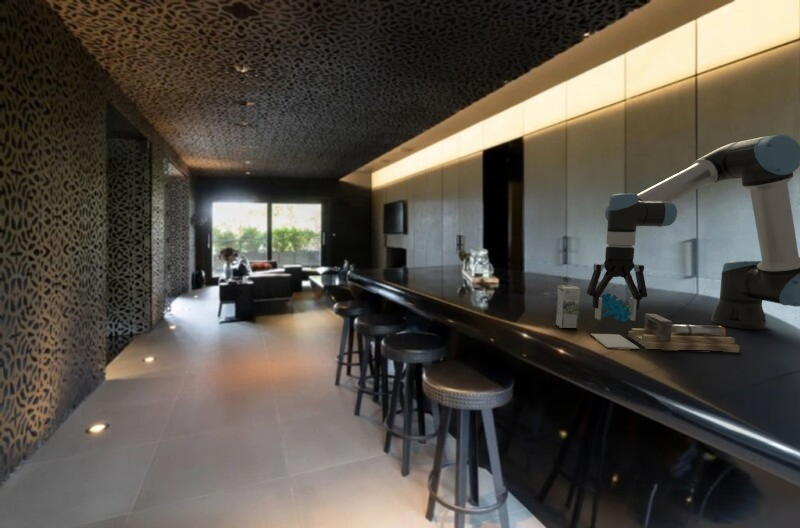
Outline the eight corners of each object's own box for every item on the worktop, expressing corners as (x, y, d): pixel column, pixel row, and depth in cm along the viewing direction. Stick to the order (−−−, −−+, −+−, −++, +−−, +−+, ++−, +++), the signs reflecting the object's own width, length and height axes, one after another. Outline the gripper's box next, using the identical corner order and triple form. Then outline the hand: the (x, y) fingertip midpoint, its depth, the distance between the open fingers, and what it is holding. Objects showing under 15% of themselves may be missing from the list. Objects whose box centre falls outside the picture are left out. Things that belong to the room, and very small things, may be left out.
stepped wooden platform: (710, 339, 126) (713, 314, 125) (738, 352, 114) (741, 324, 113) (627, 337, 128) (629, 312, 127) (647, 349, 116) (649, 322, 115)
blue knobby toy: (614, 318, 116) (598, 290, 122) (599, 329, 120) (585, 301, 126) (640, 320, 120) (623, 293, 126) (625, 330, 124) (610, 303, 131)
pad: (619, 336, 129) (619, 334, 129) (639, 349, 116) (639, 347, 116) (590, 335, 130) (590, 333, 130) (606, 348, 117) (607, 346, 117)
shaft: (717, 335, 122) (718, 324, 121) (725, 339, 118) (726, 327, 118) (665, 334, 123) (666, 323, 123) (672, 337, 120) (673, 326, 119)
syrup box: (571, 324, 143) (573, 284, 141) (578, 329, 137) (580, 287, 135) (555, 324, 143) (557, 284, 141) (561, 329, 137) (563, 287, 135)
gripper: (652, 245, 122) (645, 317, 125) (577, 244, 124) (573, 314, 127) (665, 247, 115) (659, 323, 117) (586, 246, 117) (581, 321, 119)
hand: (614, 319), depth 122 cm, fingers closed on blue knobby toy, 9 cm apart
